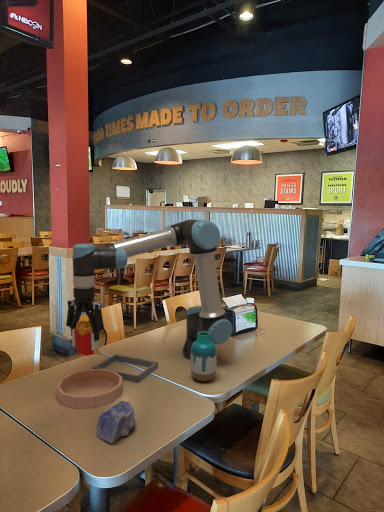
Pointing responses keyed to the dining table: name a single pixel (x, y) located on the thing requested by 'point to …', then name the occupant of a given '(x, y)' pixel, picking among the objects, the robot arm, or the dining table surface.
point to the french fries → (84, 338)
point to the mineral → (116, 422)
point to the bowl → (89, 388)
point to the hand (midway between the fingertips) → (85, 347)
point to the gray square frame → (126, 376)
